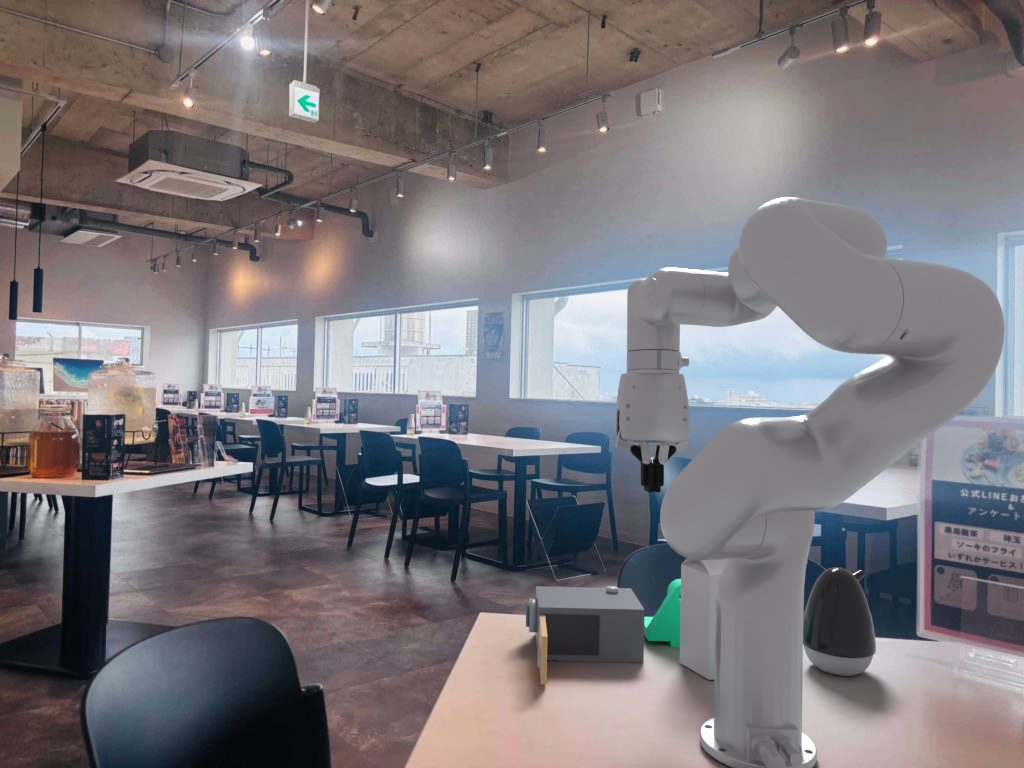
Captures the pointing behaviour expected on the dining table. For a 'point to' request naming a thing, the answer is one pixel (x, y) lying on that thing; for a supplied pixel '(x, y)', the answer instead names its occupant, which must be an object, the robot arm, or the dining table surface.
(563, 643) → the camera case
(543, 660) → the tan cabinet door
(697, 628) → the milk carton
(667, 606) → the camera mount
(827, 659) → the black and white egg
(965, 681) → the dining table surface
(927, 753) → the dining table surface
